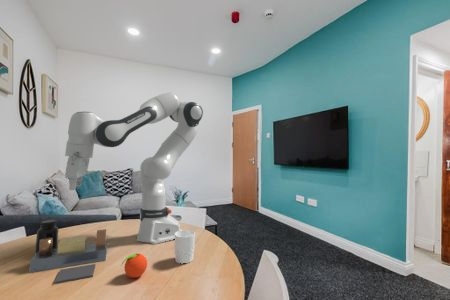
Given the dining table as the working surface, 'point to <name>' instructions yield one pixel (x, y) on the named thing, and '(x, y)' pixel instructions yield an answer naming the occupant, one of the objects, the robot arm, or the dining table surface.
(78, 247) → the lever cap
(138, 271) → the clementine
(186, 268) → the dining table surface
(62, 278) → the mat
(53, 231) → the supplement bottle
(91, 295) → the dining table surface
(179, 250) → the white cup
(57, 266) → the body
